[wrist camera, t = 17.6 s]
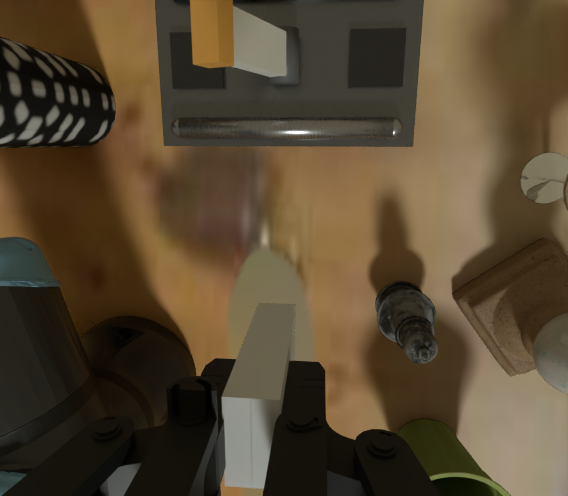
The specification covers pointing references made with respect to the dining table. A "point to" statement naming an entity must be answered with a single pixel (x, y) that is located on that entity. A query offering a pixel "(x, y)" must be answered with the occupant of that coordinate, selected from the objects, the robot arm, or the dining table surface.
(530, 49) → the dining table surface
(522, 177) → the wineglass
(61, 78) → the spotted tube
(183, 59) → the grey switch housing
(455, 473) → the plant pot
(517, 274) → the candle holder
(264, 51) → the breaker lever
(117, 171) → the dining table surface
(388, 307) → the salt shaker
